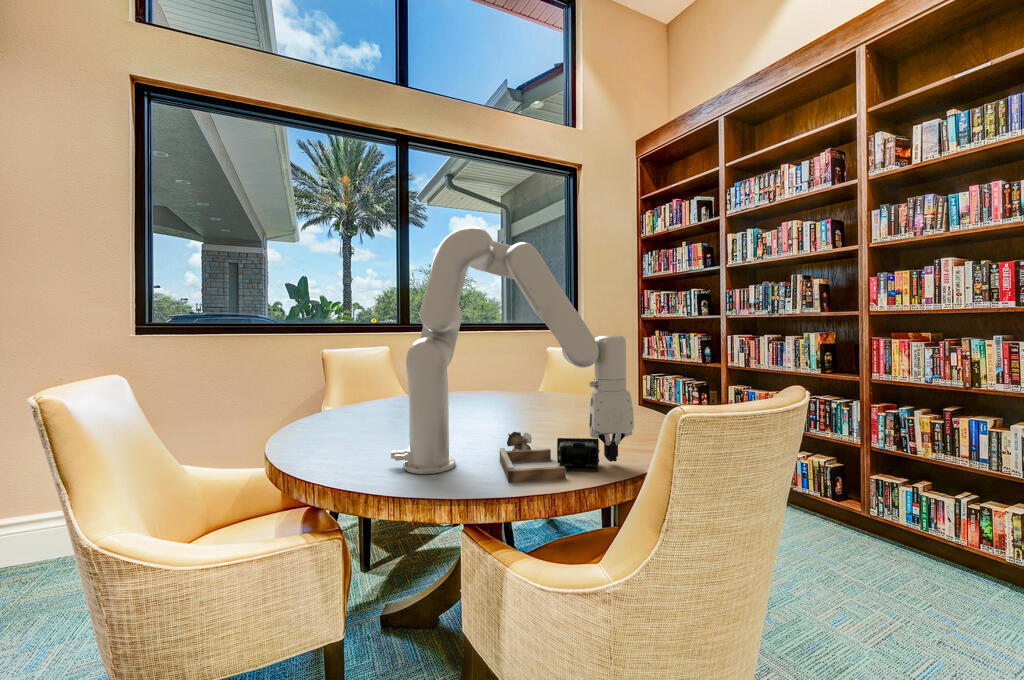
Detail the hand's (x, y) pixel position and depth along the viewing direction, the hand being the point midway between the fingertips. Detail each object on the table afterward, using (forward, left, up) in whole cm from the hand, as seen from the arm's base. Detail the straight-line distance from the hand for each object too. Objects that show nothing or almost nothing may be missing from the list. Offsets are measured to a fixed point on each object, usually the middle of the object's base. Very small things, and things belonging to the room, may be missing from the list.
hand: (611, 459), depth 109 cm
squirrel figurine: (-21, +13, -2) cm, 24 cm away
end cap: (-8, 0, -2) cm, 9 cm away
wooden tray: (-20, 0, -1) cm, 20 cm away
